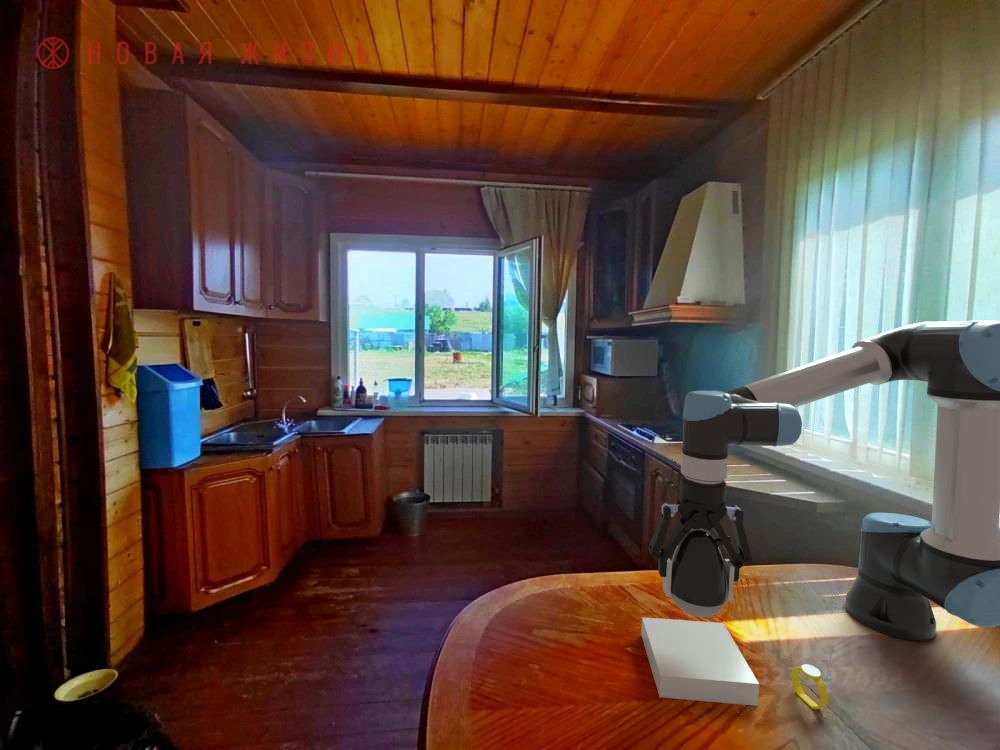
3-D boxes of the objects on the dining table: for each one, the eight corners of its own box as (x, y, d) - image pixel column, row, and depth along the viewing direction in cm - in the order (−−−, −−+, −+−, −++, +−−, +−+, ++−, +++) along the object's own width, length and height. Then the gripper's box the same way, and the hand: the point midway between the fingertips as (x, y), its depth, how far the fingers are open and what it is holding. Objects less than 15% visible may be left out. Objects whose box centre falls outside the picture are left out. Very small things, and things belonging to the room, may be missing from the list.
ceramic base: (722, 641, 93) (723, 623, 92) (757, 705, 77) (759, 683, 77) (641, 635, 95) (642, 617, 94) (659, 697, 79) (660, 675, 78)
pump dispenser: (735, 630, 79) (740, 545, 77) (671, 622, 81) (675, 539, 79) (719, 596, 89) (723, 520, 87) (663, 589, 91) (666, 516, 89)
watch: (829, 715, 76) (835, 684, 75) (815, 718, 75) (820, 686, 74) (799, 685, 81) (803, 656, 80) (786, 687, 81) (790, 658, 80)
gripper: (760, 473, 85) (752, 587, 87) (634, 468, 87) (630, 579, 89) (780, 487, 77) (771, 611, 79) (642, 481, 80) (637, 602, 82)
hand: (696, 594), depth 84 cm, fingers closed on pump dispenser, 10 cm apart
